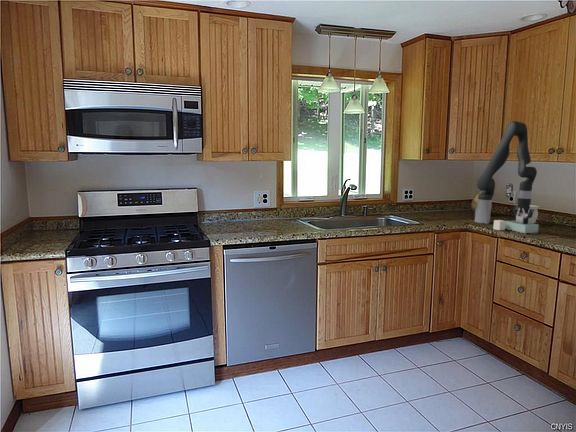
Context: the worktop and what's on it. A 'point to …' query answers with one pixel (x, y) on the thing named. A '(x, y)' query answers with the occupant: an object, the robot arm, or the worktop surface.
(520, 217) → the steel block
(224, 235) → the worktop surface
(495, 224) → the cream box
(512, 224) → the tote
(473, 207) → the ceramic jug
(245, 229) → the worktop surface
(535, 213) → the pitcher
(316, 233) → the worktop surface
